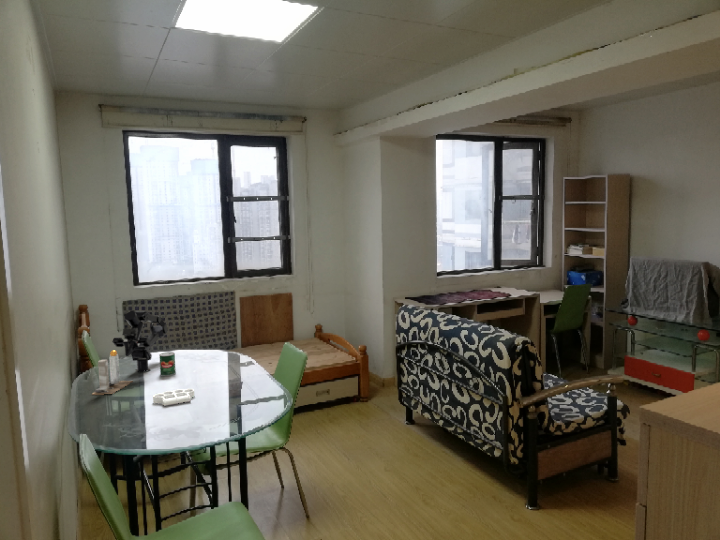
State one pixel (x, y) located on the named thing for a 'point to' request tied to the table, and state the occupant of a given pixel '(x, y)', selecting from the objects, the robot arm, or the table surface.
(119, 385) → the bolt board
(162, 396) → the white piece
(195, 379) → the table surface
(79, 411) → the table surface
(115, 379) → the sliding leg
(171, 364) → the canned tomato
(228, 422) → the table surface
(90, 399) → the table surface
